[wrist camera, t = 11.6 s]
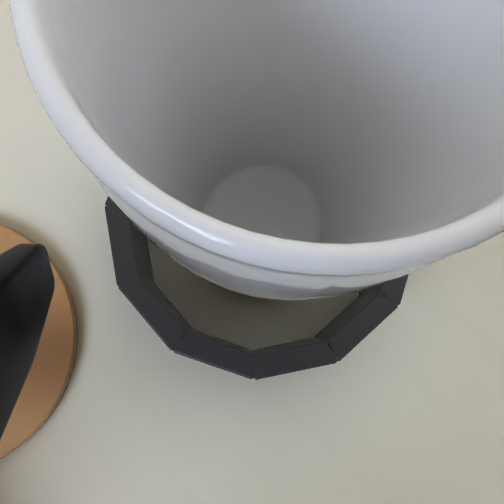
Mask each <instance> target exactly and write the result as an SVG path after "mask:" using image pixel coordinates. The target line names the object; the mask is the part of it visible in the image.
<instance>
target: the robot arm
mask: <svg viewBox="0 0 504 504" xmlns="http://www.w3.org/2000/svg"><path fill="white" fill-rule="evenodd" d="M54 288H55V279H54V275H53V272H52V268H51V264H50V261H49V257H48V253H47V250H46V248H45V247H44V246H43V245H41V244H28V243H21V244H18V245H16V246H14V247H12V248H10V249H9V250H7V251H5V252H3V253H1V254H0V440H1V438H2V435H3V433H4V431H5V428H6V426H7V423H8V421H9V419H10V416H11V414H12V412H13V409H14V407H15V405H16V402H17V400H18V398H19V395H20V393H21V390H22V388H23V386H24V383H25V381H26V379H27V376H28V374H29V371H30V369H31V366H32V364H33V361H34V358H35V355H36V352H37V349H38V345H39V342H40V338H41V335H42V331H43V328H44V324H45V321H46V317H47V314H48V310H49V307H50V304H51V300H52V297H53V293H54Z"/></svg>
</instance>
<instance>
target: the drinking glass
mask: <svg viewBox="0 0 504 504" xmlns="http://www.w3.org/2000/svg"><path fill="white" fill-rule="evenodd" d="M9 6H10V14H11V19H12V24H13V28H14V33H15V37H16V42H17V45H18V48H19V51H20V54H21V57H22V60H23V63H24V66H25V69H26V72H27V75H28V77H29V79H30V81H31V83H32V85H33V87H34V90H35V92H36V94H37V96H38V98H39V100H40V103H41V104H42V106H43V108H44V109H45V111H46V113H47V114H48V116H49V118H50V119H51V121H52V123H53V124H54V126H55V128H56V129H57V131H58V132H59V133H60V135H61V136H62V137H63V139H64V140H65V141H66V143H67V144H68V145H69V147H70V148H71V149H72V151H73V152H74V153H75V155H76V156H77V157H78V158H79V159H80V160H81V161H82V162H83V163H84V165H85V166H86V167H87V168H88V170H89V171H90V172H91V174H92V175H93V176H94V178H95V179H96V180H97V182H98V183H99V184H100V186H101V187H102V188H103V190H104V191H105V192H106V193H107V195H108V196H109V197H110V198H111V199H112V201H113V202H114V203H115V204H116V205H117V206H118V208H119V209H120V210H121V211H122V212H123V213H124V214H125V215H126V216H127V217H128V218H129V219H130V221H131V222H132V223H133V224H134V225H135V226H136V227H137V228H138V229H139V230H140V231H141V232H142V233H143V234H144V235H145V236H146V237H147V238H148V239H149V240H150V241H152V242H153V243H154V244H155V245H156V246H157V247H158V248H160V249H161V250H162V251H163V252H164V253H165V254H167V255H168V256H169V257H170V258H172V259H173V260H175V261H176V262H177V263H179V264H180V265H182V266H183V267H184V268H186V269H187V270H189V271H191V272H192V273H194V274H196V275H198V276H199V277H201V278H203V279H204V280H207V281H209V282H211V283H213V284H215V285H218V286H220V287H222V288H225V289H228V290H231V291H234V292H237V293H240V294H244V295H248V296H252V297H257V298H264V299H272V300H294V301H296V300H310V299H321V298H327V297H332V296H338V295H343V294H348V293H352V292H355V291H359V290H363V289H366V288H370V287H373V286H377V285H380V284H383V283H386V282H389V281H391V280H394V279H397V278H399V277H402V276H404V275H407V274H409V273H412V272H415V271H417V270H420V269H422V268H425V267H427V266H429V265H432V264H434V263H436V262H438V261H441V260H443V259H445V258H447V257H449V256H452V255H454V254H457V253H460V252H462V251H465V250H467V249H470V248H472V247H475V246H477V245H479V244H481V243H482V242H484V241H486V240H488V239H490V238H492V237H494V236H496V235H498V234H500V233H502V232H504V0H9Z"/></svg>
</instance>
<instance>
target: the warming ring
mask: <svg viewBox="0 0 504 504" xmlns="http://www.w3.org/2000/svg"><path fill="white" fill-rule="evenodd" d="M105 205H107V206H105V211H106V218H107V224H108V230H109V237H110V243H111V250H112V256H113V262H114V269H115V275H116V281H117V285H118V286H119V289H120V290H121V292H122V293H123V294H124V295H125V296H126V298H127V299H128V300H129V301H130V302H131V304H132V305H133V306H134V307H135V308H136V310H137V311H138V312H139V313H140V314H141V316H142V317H143V318H144V319H145V320H146V321H147V323H148V324H149V325H150V326H151V327H152V329H153V330H154V331H155V332H156V333H157V335H158V336H159V337H160V338H161V339H162V341H163V342H164V343H165V344H166V345H167V347H168V348H169V349H170V350H174V352H175V353H177V354H180V355H183V356H186V357H189V358H191V359H194V360H197V361H200V362H203V363H206V364H209V365H212V366H215V367H217V368H220V369H223V370H226V371H229V372H232V373H235V374H238V375H240V376H243V377H246V378H249V379H253V378H255V379H256V380H257V379H262V378H267V377H271V376H276V375H281V374H286V373H291V372H295V371H300V370H305V369H310V368H315V367H319V366H324V365H329V364H334V363H336V362H337V361H340V360H341V359H342V358H343V357H345V356H346V355H347V354H348V353H349V352H350V351H351V350H352V349H353V348H354V347H355V346H356V345H357V344H359V343H360V342H361V341H362V340H363V339H364V338H365V337H366V336H367V335H368V334H369V333H370V332H371V331H373V330H374V329H375V328H376V327H377V326H378V325H379V324H380V323H381V322H382V321H383V320H384V319H385V318H387V317H388V316H389V315H390V314H391V313H392V312H393V311H394V310H395V309H396V308H397V307H398V306H397V305H399V304H400V302H401V298H402V295H403V291H404V288H405V284H406V281H407V277H408V274H407V275H404V276H402V277H399V278H397V279H394V280H391V281H389V282H386V283H383V284H380V285H377V286H373V287H370V288H366V289H363V290H360V293H359V296H358V298H357V299H356V300H354V301H353V302H352V303H351V304H350V305H349V306H348V307H347V308H346V309H345V310H344V311H342V312H341V313H340V314H339V315H338V316H337V317H336V318H335V319H334V320H333V321H331V322H330V323H329V324H328V325H327V326H326V327H325V328H324V329H323V330H322V331H320V332H319V333H318V334H317V335H316V336H315V337H314V338H310V339H305V340H300V341H296V342H291V343H286V344H281V345H276V346H271V347H266V348H261V349H256V350H250V349H248V348H245V347H242V346H239V345H236V344H233V343H230V342H227V341H224V340H221V339H219V338H216V337H213V336H210V335H207V334H204V333H201V332H198V331H195V330H193V328H192V327H191V326H190V325H189V324H188V322H187V321H186V320H185V319H184V318H183V317H182V315H181V314H180V313H179V312H178V311H177V310H176V308H175V307H174V306H173V305H172V304H171V302H170V301H169V300H168V299H167V298H166V297H165V295H164V294H163V293H162V292H161V291H160V289H159V288H158V287H157V286H156V285H155V284H154V280H153V274H152V268H151V262H150V256H149V250H148V244H147V238H146V236H145V235H144V234H143V233H142V232H141V231H140V230H139V229H138V228H137V227H136V226H135V225H134V224H133V223H132V222H131V221H130V219H129V218H128V217H127V216H126V215H125V214H124V213H123V212H122V211H121V210H120V209H119V208H118V206H117V205H116V204H115V203H114V202H113V201H112V199H111V198H110V197H109V196H108V198H107V200H106V203H105Z"/></svg>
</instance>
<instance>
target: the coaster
mask: <svg viewBox="0 0 504 504" xmlns="http://www.w3.org/2000/svg"><path fill="white" fill-rule="evenodd" d="M21 243H28V244H34V243H33V242H32V241H30V240H29V239H28V238H26V237H24V236H23V235H21V234H19V233H17V232H16V231H14V230H11V229H9V228H7V227H4V226H2V225H0V254H1V253H3V252H5V251H7V250H9V249H10V248H12V247H14V246H16V245H18V244H21ZM49 261H50V264H51V268H52V272H53V275H54V279H55V288H54V293H53V297H52V300H51V304H50V307H49V310H48V314H47V317H46V321H45V324H44V328H43V331H42V335H41V338H40V342H39V345H38V349H37V352H36V355H35V358H34V361H33V364H32V366H31V369H30V371H29V374H28V376H27V379H26V381H25V383H24V386H23V388H22V390H21V393H20V395H19V398H18V400H17V402H16V405H15V407H14V409H13V412H12V414H11V416H10V419H9V421H8V423H7V426H6V428H5V431H4V433H3V435H2V438H1V440H0V458H2V457H3V456H5V455H7V454H9V453H10V452H12V451H14V450H15V449H16V448H17V447H19V446H20V445H21V444H23V443H24V442H25V441H27V440H28V439H29V438H30V437H31V436H32V435H33V434H34V433H35V432H36V431H37V430H38V429H39V428H40V427H41V426H42V425H43V423H44V422H45V421H46V420H47V418H48V417H49V416H50V415H51V413H52V412H53V410H54V408H55V407H56V405H57V404H58V402H59V400H60V399H61V397H62V394H63V392H64V390H65V388H66V386H67V384H68V381H69V378H70V375H71V372H72V368H73V365H74V359H75V354H76V346H77V324H76V315H75V310H74V305H73V301H72V298H71V295H70V292H69V290H68V287H67V285H66V283H65V281H64V279H63V277H62V275H61V273H60V272H59V270H58V269H57V267H56V266H55V265H54V263H53V262H52V260H51V259H50V258H49Z"/></svg>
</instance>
